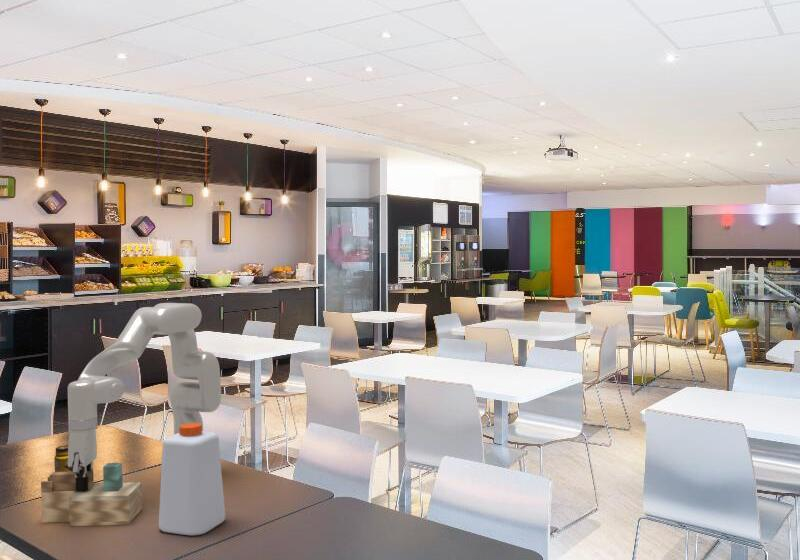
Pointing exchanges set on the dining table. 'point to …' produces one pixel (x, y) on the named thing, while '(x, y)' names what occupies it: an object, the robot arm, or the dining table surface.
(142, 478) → the dining table surface
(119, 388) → the robot arm
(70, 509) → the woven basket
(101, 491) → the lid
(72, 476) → the brown wooden bar
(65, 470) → the condiment
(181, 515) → the plastic bottle
